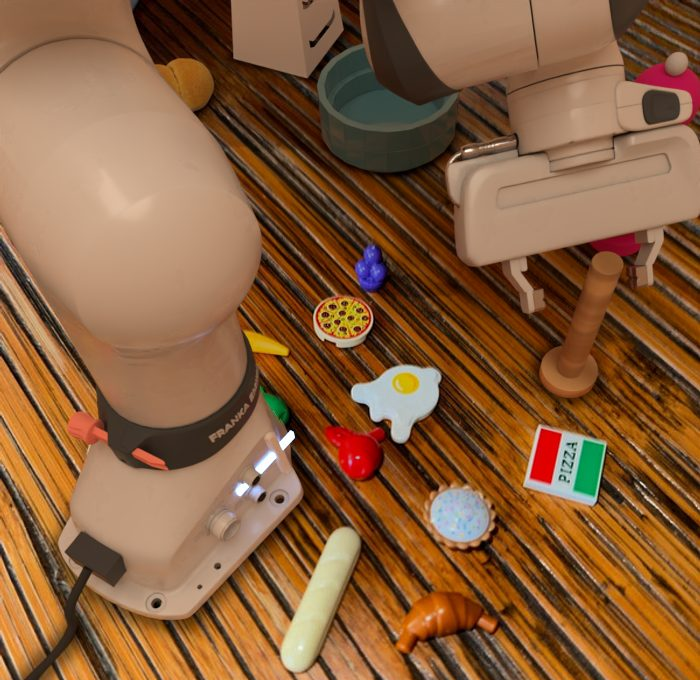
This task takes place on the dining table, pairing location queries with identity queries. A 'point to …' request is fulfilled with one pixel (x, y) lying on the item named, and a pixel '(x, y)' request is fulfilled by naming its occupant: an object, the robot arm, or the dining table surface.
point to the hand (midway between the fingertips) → (587, 299)
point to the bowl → (379, 118)
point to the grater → (284, 33)
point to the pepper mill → (682, 79)
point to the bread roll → (189, 81)
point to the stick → (582, 332)
